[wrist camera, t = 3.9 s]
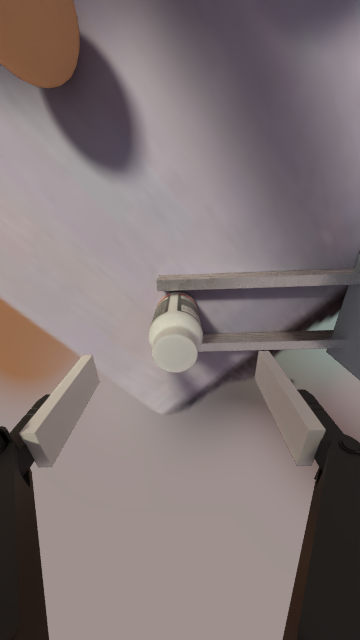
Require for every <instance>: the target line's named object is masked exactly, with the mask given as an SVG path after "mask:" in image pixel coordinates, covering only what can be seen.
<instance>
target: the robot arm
mask: <svg viewBox="0 0 360 640" xmlns="http://www.w3.org/2000/svg"><path fill="white" fill-rule="evenodd" d="M255 381H256V383H257V385H258V387H259V389H260V391H261V393H262V395H263V397H264V399H265V401H266V404H267V406H268V408H269V410H270V412H271V414H272V416H273V418H274V420H275V422H276V424H277V426H278V428H279V430H280V432H281V434H282V436H283V438H284V441H285V443H286V445H287V447H288V449H289V451H290V453H291V455H292V457H293V459H294V461H295V463H296V465H297V466H311V465H312V463H313V461H314V458H315V460H316V462H317V464H318V465H319V469H318V471H317V473H316V476H315V478H314V479H315V480H316V482H315V486H314V491H313V496H312V501H311V506H310V511H309V515H308V521H307V525H306V530H305V535H304V539H303V544H302V549H301V554H300V559H299V564H298V568H297V573H296V578H295V583H294V588H293V593H292V597H291V602H290V607H289V612H288V616H287V621H286V626H285V631H284V636H283V640H360V443H359V442H358V441H357V440H355V439H353V438H352V437H350V436H347V435H345V434H343V433H342V431H341V430H340V429H339V428H338V426H337V425H336V424H335V422H334V421H333V420H332V419H331V417H330V416H329V415H328V414H327V413H326V411H324V409H323V407H322V406H321V405H320V404H319V403H318V401H317V400H316V399H315V397H314V396H313V395H312V394H310V393H309V392H308V391H306V390H297V389H296V388H295V387H294V385H293V384H292V382H291V381H290V380H289V378H288V377H287V375H286V374H285V373H284V372H283V370H282V369H281V367H280V366H279V364H278V363H277V362H276V360H275V359H274V357H273V356H272V355H271V353H270V352H269V351H259V353H258V359H257V366H256V372H255ZM98 384H99V378H98V374H97V370H96V366H95V363H94V359H93V355H83V356H82V357H81V358H80V359H79V361H78V362H77V363H76V365H75V366H74V367H73V368H72V369H71V370H70V372H69V373H68V374H67V375H66V377H65V378H64V379H63V381H61V383H60V384H59V385H58V386H57V388H56V389H55V390H54V391H53V393H52V394H50V395H45V396H43V397H42V398H41V399H39V400H38V401H37V402H36V403H35V404H34V406H33V407H32V409H30V410H29V411H28V413H27V414H26V415H25V416H24V417H23V418H22V419H21V421H20V422H19V423H18V424H17V425H16V426H15V428H14V429H13V430H12V431H11V432H10V433H9V432H8V430H7V429H6V427H3V426H1V427H0V640H49V635H48V626H47V616H46V606H45V596H44V587H43V578H42V568H41V559H40V548H39V539H38V530H37V519H36V510H35V501H34V491H33V481H32V472H31V470H30V467H31V465H32V464H33V462H34V461H35V463H36V464H37V466H38V467H52V466H53V464H54V462H55V461H56V459H57V457H58V455H59V453H60V452H61V450H62V448H63V446H64V445H65V443H66V441H67V439H68V438H69V436H70V434H71V432H72V430H73V429H74V427H75V425H76V423H77V421H78V420H79V418H80V416H81V414H82V412H83V410H84V409H85V407H86V405H87V404H88V402H89V400H90V398H91V396H92V395H93V393H94V391H95V389H96V388H97V386H98Z"/></svg>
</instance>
